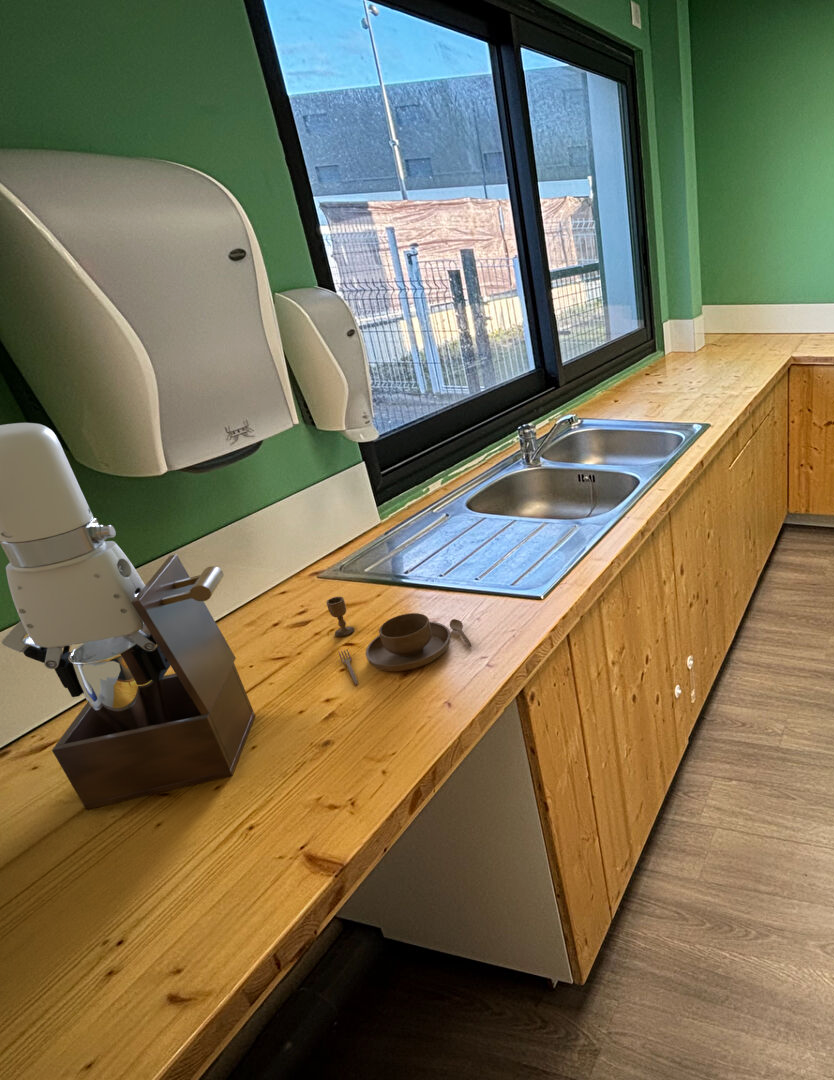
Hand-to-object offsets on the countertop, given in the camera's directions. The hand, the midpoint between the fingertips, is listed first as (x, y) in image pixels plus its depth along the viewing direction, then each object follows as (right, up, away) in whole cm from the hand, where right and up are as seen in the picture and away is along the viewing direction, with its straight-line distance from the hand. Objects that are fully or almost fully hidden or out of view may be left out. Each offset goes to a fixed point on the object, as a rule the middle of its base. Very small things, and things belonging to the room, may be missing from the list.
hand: (122, 681), depth 80 cm
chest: (+2, -11, +6) cm, 12 cm away
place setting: (+20, 0, +28) cm, 34 cm away
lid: (+7, +5, 0) cm, 9 cm away
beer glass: (0, -9, +4) cm, 10 cm away
